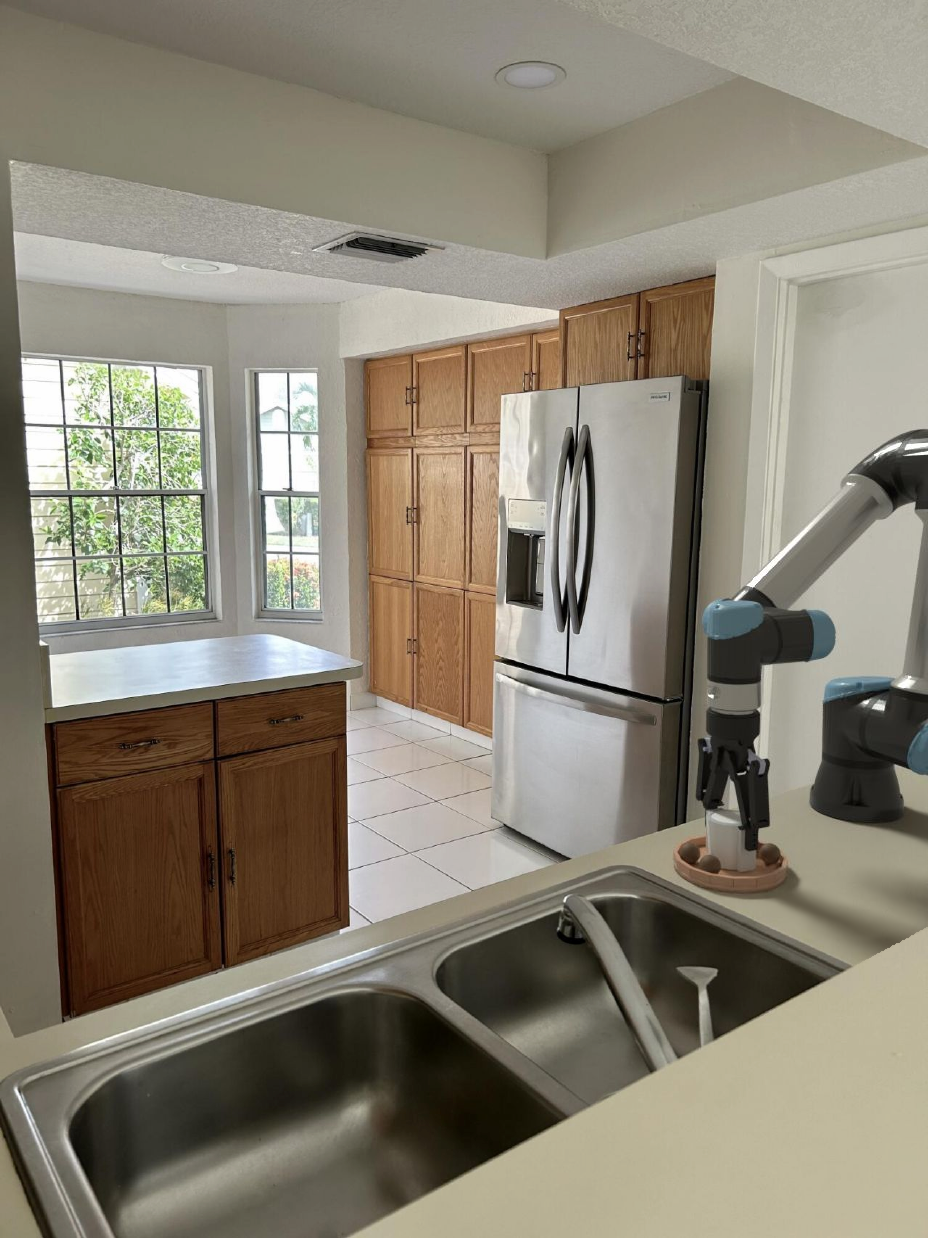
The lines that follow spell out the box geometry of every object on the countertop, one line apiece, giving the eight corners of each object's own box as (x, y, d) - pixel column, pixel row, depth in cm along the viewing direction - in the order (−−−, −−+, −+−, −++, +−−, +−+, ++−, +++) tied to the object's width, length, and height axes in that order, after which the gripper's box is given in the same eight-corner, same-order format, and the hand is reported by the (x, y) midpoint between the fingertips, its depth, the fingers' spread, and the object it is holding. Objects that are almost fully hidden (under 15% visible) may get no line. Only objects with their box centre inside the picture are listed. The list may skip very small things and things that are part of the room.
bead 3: (771, 857, 136) (771, 838, 136) (784, 865, 134) (785, 845, 133) (754, 861, 135) (755, 842, 135) (768, 869, 132) (768, 849, 132)
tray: (739, 841, 145) (739, 828, 145) (811, 881, 130) (811, 866, 130) (653, 858, 140) (653, 844, 139) (717, 901, 125) (717, 886, 124)
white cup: (756, 873, 131) (757, 826, 130) (706, 870, 132) (707, 823, 131) (750, 854, 137) (752, 809, 136) (703, 851, 139) (704, 807, 138)
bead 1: (692, 857, 137) (692, 838, 137) (704, 864, 134) (704, 845, 134) (675, 860, 136) (675, 841, 136) (687, 868, 133) (687, 848, 133)
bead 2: (712, 869, 133) (712, 850, 132) (725, 877, 130) (725, 857, 129) (694, 873, 132) (695, 853, 131) (707, 881, 129) (707, 861, 128)
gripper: (672, 697, 139) (670, 840, 143) (756, 727, 121) (752, 891, 124) (713, 692, 142) (710, 833, 145) (801, 721, 124) (796, 881, 127)
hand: (730, 859), depth 135 cm, fingers closed on white cup, 7 cm apart
